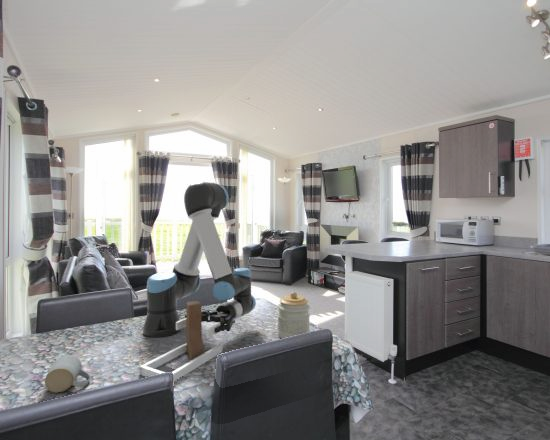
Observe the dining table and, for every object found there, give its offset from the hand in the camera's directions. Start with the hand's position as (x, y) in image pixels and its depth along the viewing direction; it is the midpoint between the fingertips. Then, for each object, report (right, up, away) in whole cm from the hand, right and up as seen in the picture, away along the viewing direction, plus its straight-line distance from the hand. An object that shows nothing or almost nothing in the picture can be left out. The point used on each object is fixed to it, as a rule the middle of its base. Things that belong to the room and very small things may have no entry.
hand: (191, 329), depth 111 cm
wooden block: (+1, -10, +3) cm, 10 cm away
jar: (+36, -9, +21) cm, 43 cm away
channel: (-2, -10, -2) cm, 10 cm away
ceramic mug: (-31, -11, -16) cm, 37 cm away
